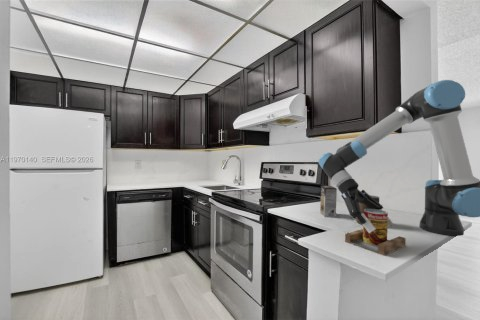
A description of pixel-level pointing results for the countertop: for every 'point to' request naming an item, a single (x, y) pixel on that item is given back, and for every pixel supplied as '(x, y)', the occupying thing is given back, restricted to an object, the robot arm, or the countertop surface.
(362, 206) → the pillar candle
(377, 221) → the canned food
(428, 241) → the countertop surface
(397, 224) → the countertop surface
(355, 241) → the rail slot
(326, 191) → the coffee box
